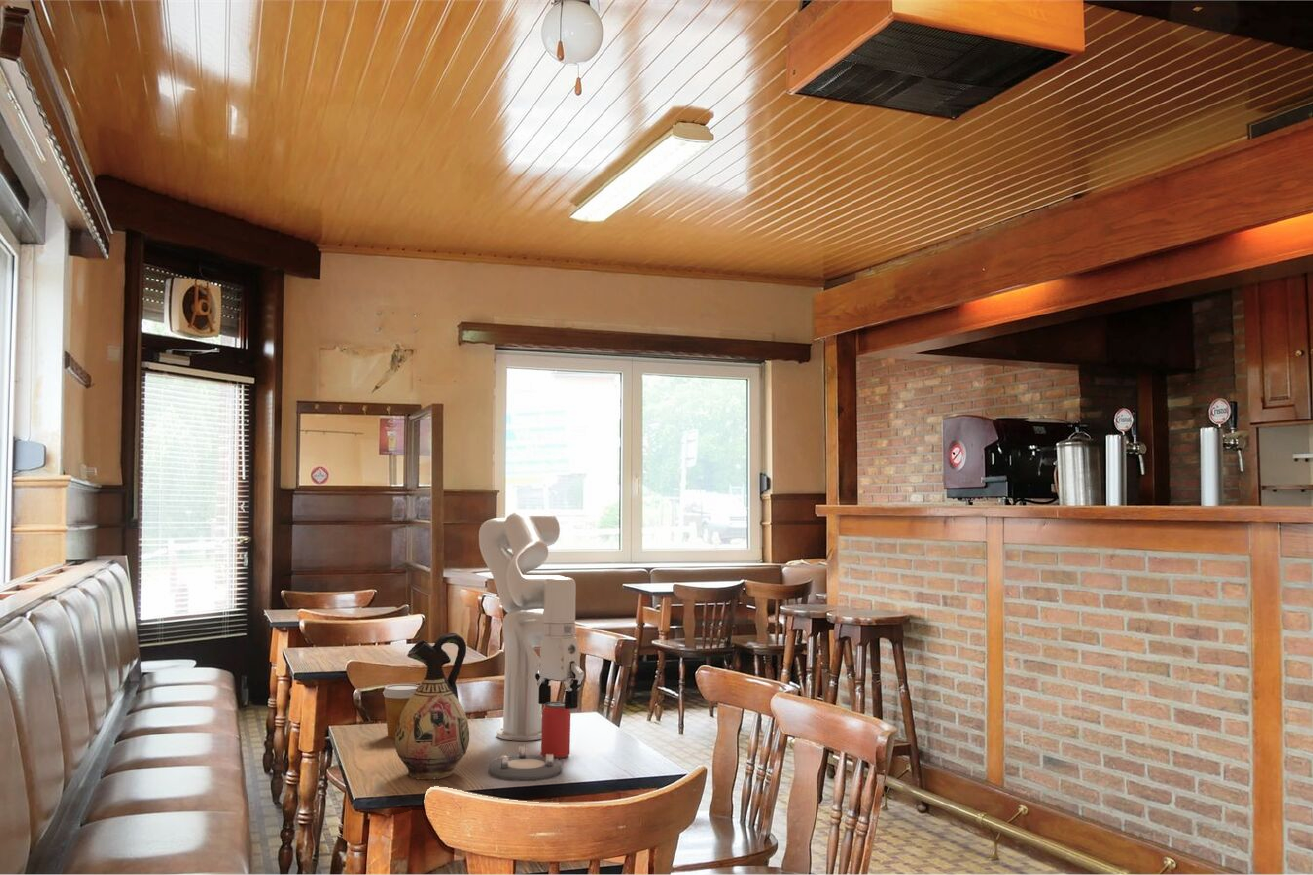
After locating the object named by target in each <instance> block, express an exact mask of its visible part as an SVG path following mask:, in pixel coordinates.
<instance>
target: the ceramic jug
mask: <svg viewBox="0 0 1313 875" xmlns="http://www.w3.org/2000/svg"><path fill="white" fill-rule="evenodd" d="M448 643H449V644H454V645H456V646H457V648H458V649H457V654H456V658H455V661H454V664H453V666H452V669H451V671H450V673H449V675H448V678H447V676H446V674H445V673H444V672H445V671H444V669H443V666H444V665H449V664H450V663H451V662H452V660H451V657H450V656H449V654H448V653H447V652H446V651H445V650H444V649H443V648H442V647H443V645H445V644H448ZM466 653H467V645H466V641H465V640H464V638H463V636H461V635H460V634H459V633H456V632H448V633H444V634H442V635H440V636H438V637H437V639H436V641H435V642H434V644H433V645H430V644H429V643H428V642H427V641H426V640H424V639H421V640H419V641H418V642H416V643H415V644H414V645H413V647H411V649H410V650H409V651H408V653H407V655H406V656H407V657H408V658H409V659H412V660H415V661H418V662H420V663H422V664H423V665H425V666H426V674H425V677H423V679H422V681H421V683H420V684H419V686H418V688H417V689H416V690H415V692H414V693H413V695H412V697H411V698H410V699H409V701H408V703H407V704H406V706H405V708H404V710H403V712H402V714H401V716H400V719H399V723H398V726H397V730H396V735H395V738H394V745H395V746H394V747H395V751H396V754H397V756H398V757H399V759H400V760H401V762H402V764H404V765H405V767H406V769H407V771H408V773H407V775H408V776H407V777H410V778H412V777H414V778H419V779H418V780H420V779H428V780H440V779H443V778H446V777H449V776H452V775H453V774H454V772H455V767H456V766H457V765H458V764H459V762H460V761H461V760H462V759H463V758H464V756H465V755H466V753H467V750H468V747H469V743H470V730H469V729H470V728H469V721H468V718H467V715H466V713H465V710H464V707H463V706H462V704H461V702H460V699H459V692H458V687H457V679H458V677H459V675H460V671H461V669H462V666H463V663H464V659H465V657H466ZM414 778H413V779H414ZM434 778H435V779H434ZM436 778H437V779H436Z"/></svg>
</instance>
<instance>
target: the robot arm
mask: <svg viewBox="0 0 1313 875" xmlns="http://www.w3.org/2000/svg"><path fill="white" fill-rule="evenodd" d="M560 532H561V527H560V523H559V520H558V519H557V517H556V516H555V515H554V514H553V513H551V512H547V511H517V512H513V513H510V514H509V515H507V517H497V518H490V519H488V520H486V521H484V522H483V523H482V524H481V526H480V528H479V532H478V546H479V550H480V553H481V556H482V558H483V561H484V562H485V564H486V566H487V568H488V569H489V570H490V572H491V574H492V577H493V580H494V584H495V589H496V591H497V596H498V599H499V602H500V605H501V606H502V609H503V610H504V611H505V612H506V614H505V615H504V617H503V618H502V619H503V620H502V626H501V630H502V637H503V638H502V639H503V644H504V645H503V646H504V678H503V679H504V681H503V682H504V683H503V684H504V685H503V716H502V717H503V718H502V728H499V729H497V731H496V737H497V738H498V739H502V740H506V741H514V742H516V741H519V742H520V741H521V742H526V741H527V742H528V741H537V740H541V732H542V711H543V709H542V707H543V706H542V705H543V704H545V703H547V702H552V700H551V698H552V685H550V683H551V681H555V682H561V683H562V682H563V685H564V686H565V688H566V690H565V691H564V696H565V697H564V702H565V708H566V709H569V710H570V709H577V708H578V691H579V690H580V689H581V686H582V684H583V679H584V677H585V672H584V670H583V669H581V668H580V666H581V664H580V663H581V662H580V661H581V660H580V650H579V642H578V638H577V637H576V595H577V594H576V592H577V591H576V590H577V589H576V584H577V583H576V581H575V580H574V578H572V577H567V576H566V577H565V576H564V575H560V574H559V575H557V574H556V575H555V574H554V575H547V574H544V575H543V574H540V575H539V574H538V575H536V574H534V575H532V574H531V575H529V574H527V573H529V572H531V571H533V570H535V569H537V568H540V567H541V566H542V565H543V564H544V563H545V562H546V561H547V558H548V556H549V548H548V547H550V546H552V545H554V544H555V543H556V542H557V541H558V539H559V537H560V534H561V533H560ZM509 550H511V551H512V552H511V551H509ZM534 648H539V655H538V653H537V652H536V651H535V649H534Z"/></svg>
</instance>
